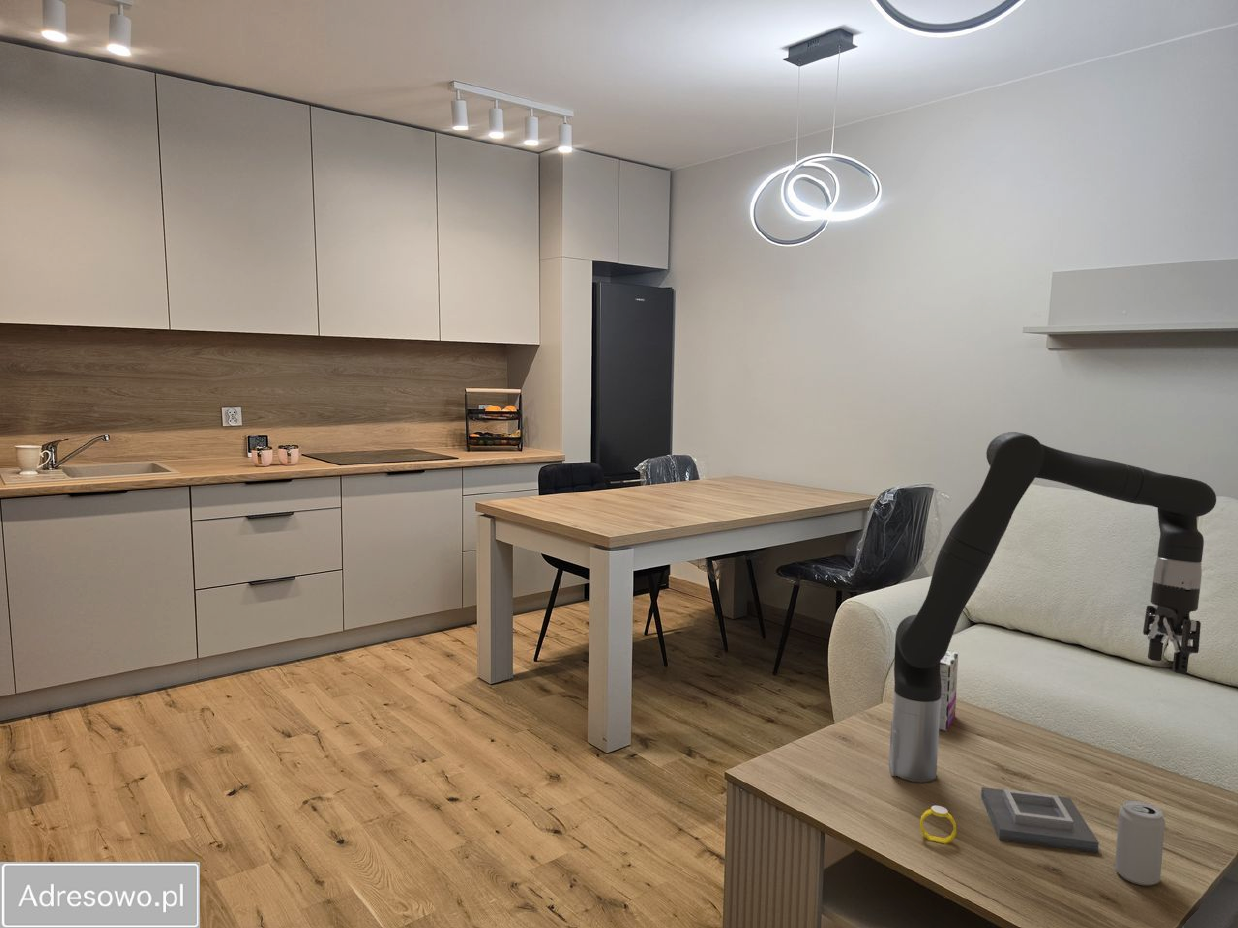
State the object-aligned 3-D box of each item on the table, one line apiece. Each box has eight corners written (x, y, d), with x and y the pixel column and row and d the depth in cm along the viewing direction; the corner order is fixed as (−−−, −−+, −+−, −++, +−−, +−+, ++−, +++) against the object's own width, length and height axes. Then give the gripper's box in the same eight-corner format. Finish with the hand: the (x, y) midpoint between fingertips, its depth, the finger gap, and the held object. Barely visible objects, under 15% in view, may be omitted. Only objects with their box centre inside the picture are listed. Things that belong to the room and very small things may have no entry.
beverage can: (1166, 890, 131) (1173, 820, 130) (1123, 885, 133) (1129, 815, 131) (1149, 868, 137) (1155, 801, 136) (1108, 863, 139) (1113, 796, 138)
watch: (953, 841, 145) (958, 810, 144) (954, 849, 143) (958, 817, 142) (918, 831, 147) (922, 801, 146) (918, 839, 145) (922, 808, 144)
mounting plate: (999, 839, 145) (1000, 820, 145) (980, 796, 161) (982, 779, 160) (1097, 853, 142) (1099, 833, 141) (1069, 807, 157) (1070, 789, 157)
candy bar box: (934, 711, 203) (938, 648, 202) (955, 716, 201) (959, 651, 199) (925, 726, 194) (928, 660, 192) (947, 732, 191) (951, 664, 190)
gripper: (1136, 574, 162) (1126, 654, 163) (1176, 587, 148) (1166, 674, 149) (1175, 578, 161) (1166, 658, 162) (1220, 592, 147) (1210, 679, 148)
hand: (1166, 666), depth 155 cm, fingers open, 8 cm apart
